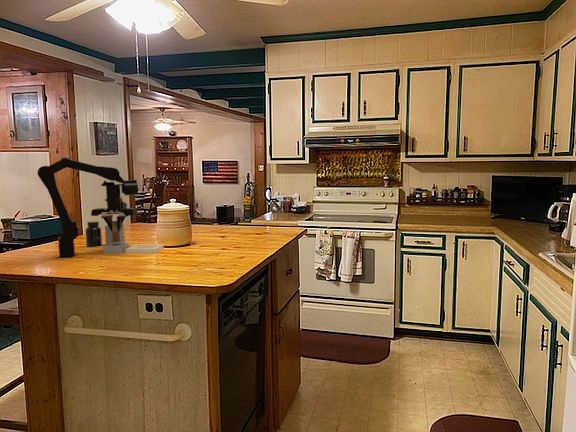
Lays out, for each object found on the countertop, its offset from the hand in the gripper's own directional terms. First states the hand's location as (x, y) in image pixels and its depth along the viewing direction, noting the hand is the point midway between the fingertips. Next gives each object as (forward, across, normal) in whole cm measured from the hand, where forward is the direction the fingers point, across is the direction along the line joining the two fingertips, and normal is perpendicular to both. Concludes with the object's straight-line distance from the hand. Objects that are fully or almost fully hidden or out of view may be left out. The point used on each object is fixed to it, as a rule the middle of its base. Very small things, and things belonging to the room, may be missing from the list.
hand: (115, 231), depth 193 cm
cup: (+10, +7, -14) cm, 18 cm away
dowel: (+4, 0, 0) cm, 4 cm away
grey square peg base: (+10, 0, 0) cm, 10 cm away
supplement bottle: (+10, +17, -13) cm, 24 cm away
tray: (+10, -12, -1) cm, 16 cm away
